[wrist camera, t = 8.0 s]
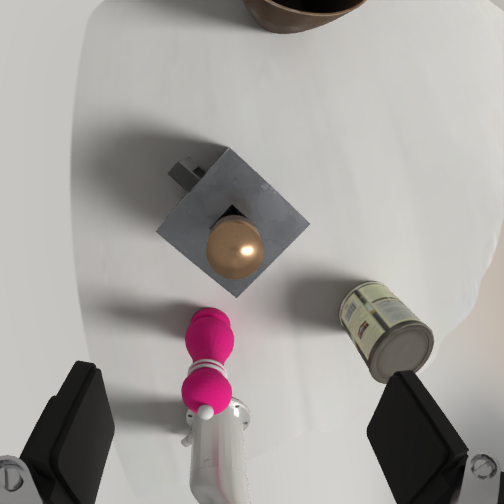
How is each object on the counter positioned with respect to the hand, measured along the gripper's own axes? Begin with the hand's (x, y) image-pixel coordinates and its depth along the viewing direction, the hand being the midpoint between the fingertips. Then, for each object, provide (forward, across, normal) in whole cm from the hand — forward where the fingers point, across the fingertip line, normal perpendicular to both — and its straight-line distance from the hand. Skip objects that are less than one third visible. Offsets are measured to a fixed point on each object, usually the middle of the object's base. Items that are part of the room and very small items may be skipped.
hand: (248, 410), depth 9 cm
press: (+37, +1, -1) cm, 37 cm away
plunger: (+31, 0, -1) cm, 31 cm away
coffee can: (+38, -24, +16) cm, 47 cm away
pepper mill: (+38, +2, +20) cm, 42 cm away
